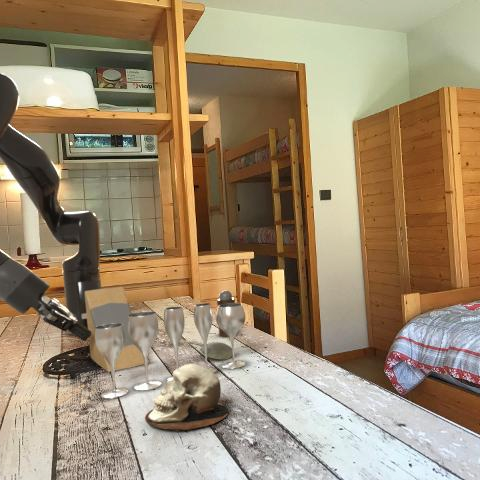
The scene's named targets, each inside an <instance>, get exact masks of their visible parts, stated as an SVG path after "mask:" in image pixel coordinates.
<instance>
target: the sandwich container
mask: <svg viewBox="0 0 480 480" xmlns="http://www.w3.org/2000/svg"><path fill="white" fill-rule="evenodd" d="M85 302H86V313H87V324H88V329H89V330H90V331H91V332H92V333H91V336H90V337H89V338H88V344H89V345H88V346H89V354H90V358H91V360H92V361H93V362H95V363H96V364H97V365H98V366H100V367H101V368H102V369H103V370H105V371H107V372H108V373H111V369H110V366H109V363H108V361H107V360H106V359H105V358H104V357H103V356H102V354H101V353H100V352H99V350H98V348H97V345H96V341H95V330H96V327H97V326H100V325H105V324H112V323H120V324H122V325H123V328H124V333H125V342H124V346H123V349H122V351H121V353H120V354H119V356H118V358H117V360H116V364H115V372H116V371H119V370H125V369H130V368H134V367H137V366H138V367H139V366H142V365H145V364H144V358H143V355H142V353H141V352H140V350H139V349H138V348H137V347H136V346H135V345H134V344H133V342H132V341H131V339H130V336H129V333H128V327H127V322H128V315H130V314H133V313H132V310H131V307H130V304H129V301H128V297H127V294H126V291H125V288H124V286H116V287H115V286H114V287H104V288H101V289H97V290H89V291H85ZM148 364H150V360H148Z"/></svg>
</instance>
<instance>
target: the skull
mask: <svg viewBox="0 0 480 480" xmlns="http://www.w3.org/2000/svg"><path fill="white" fill-rule="evenodd" d="M172 376H173V379H171V380H169V381H168V380H167V381H166V382H165V383H164V384H163V388H162V389H161V390H160V394H159V395H157V396H156V398H154V401H153V409H151V410H150V411H148V412H147V413H146V414H145V416H144V420H145V423H146V424H147V425H149V426H151V427H154V428H158V429H164V430H173V431H176V432H178V431H179V430H182V431H186V430H187V431H189V430H192V429H194V430H195V429H197V428H204V427H207V426H208V427H209V426H210V425H211V426H213V425H215V424H216V423H218V422H221V421H222V420H224V419H225V418H227V416H228V414H229V409H228V407H227V406H226V405H225V404H223V403H221V402H220V398H221V394H222V392H221V391H222V387H221V381H220V379H219V377H218V375H217V374H216V373H213V372H211V371H210V370H208V369H207V368H206V367H205V366H202V365H199V364H196V363H188V364H184V365H182V366H179V368H178V369H177V368H176V369H175V370H173V372H172Z"/></svg>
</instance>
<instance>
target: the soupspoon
mask: <svg viewBox="0 0 480 480" xmlns="http://www.w3.org/2000/svg"><path fill="white" fill-rule="evenodd" d="M169 343H170V345H172V346H173V344H172V342H171V340H170V339H169ZM180 343H185V344H189V345H195V346H197V347H200V349H199V350H200V352H201V354H203V355H205V351H204V344H203V342H197V341H192V340H186V339H181V340H180ZM207 358H210V359H214V360H228V359H230V358H232V346H231V345H228V344H226V343H224V342H220V341H214V342H208V343H207Z"/></svg>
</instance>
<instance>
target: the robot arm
mask: <svg viewBox="0 0 480 480" xmlns="http://www.w3.org/2000/svg"><path fill="white" fill-rule="evenodd" d="M19 104H20V92H19V89H18V86H17V84H16V82H15V81H14V80H13V79H12V78H11V77H10V76H9V75H7V74H5V73H1V72H0V160H1V161H2V163H3V164H4V165H5V167H7V170H8V171H9V172H10V174H11V175H12V177H13V178H14V179H15V181H16V182H17V183H18V185H19V186H20V188H21V189H22V190H23V191H24V193H25V194H26V195H27V197H28V198H29V199H30V200H31V203H32V204H33V205H34V207H35V209H36V210H37V211H38V213H39V214H40V217H41V218H42V220H43V222H44V223H45V225H46V227H47V229H48V230H49V232H50V233H51V236H52V237H53V239H54V240H55V241H56V242H57V243H58V244H60V245H61V246H78V251H77V252H76V254H75V253H74V255H73V256H70V257H69V258H67V259H64V260H63V261H62V263H61V269H62V277H63V289H64V303H65V305H64V304H63V303H62V302H61V301H59V300H58V299H56V298H55V297H52V298H50V297H49V296H48V295H45V293H46V292H47V291H48V290H49V289H50V284H49V282H47V281H45V280H44V279H43V278H41V277H40V276H38V274H36V273H35V272H34V271H32V270H31V269H29V267H26V266H25V265H24V264H23V263H21V262H19V261H17V260H15V259H14V258H12V257H11V256H10V255H8V254H7V253H5V252H4V251H3V250H1V249H0V300H1V301H3V302H4V303H5V304H7V305H8V306H10V308H12V309H14V310H15V311H17V312H18V313H20V314H23V315H24V314H26V313H27V312H28V311H29V310H30V309H31V308H32V309H33V310H35V311H36V313H37V316H38V317H39V318H41V320H43V322H44V323H47V324H49V325H51V326H53V327H55V328H57V329H59V330H61V331H63V332H67V335H71V336H72V335H73V336H76V337H77V338H78V339H79V340H81V341H82V342H87V340H89V337H90V336H91V333H92V332H91V331H90V330H89V329H88V324H87V313H86V302H85V291H89V290H97V289H102V283H101V270H100V259H101V244H100V243H101V241H100V240H101V239H100V238H101V237H100V236H101V235H100V223H99V220H98V218H97V216H96V214H95V213H94V212H92V211H90V210H84V211H83V210H81V211H80V210H79V211H66V210H65V209H64V208H63V207H62V205H61V203H60V201H59V198H58V195H59V194H58V193H59V189H60V183H61V176H60V173H59V169H57V166H56V165H55V164H54V162H53V161H52V159H51V157H50V156H49V154H48V153H47V151H46V150H44V149H43V148H42V147H41V146H40V145H39V144H38V143H36V142H35V141H33V140H31V139H30V138H29V137H27V136H26V135H24V134H22V133H21V132H19V131H18V130H16V129H15V128H14V127H12V125H10V123H11V122H12V120H13V118H14V116H15V114H16V112H17V110H18V107H19Z"/></svg>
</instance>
